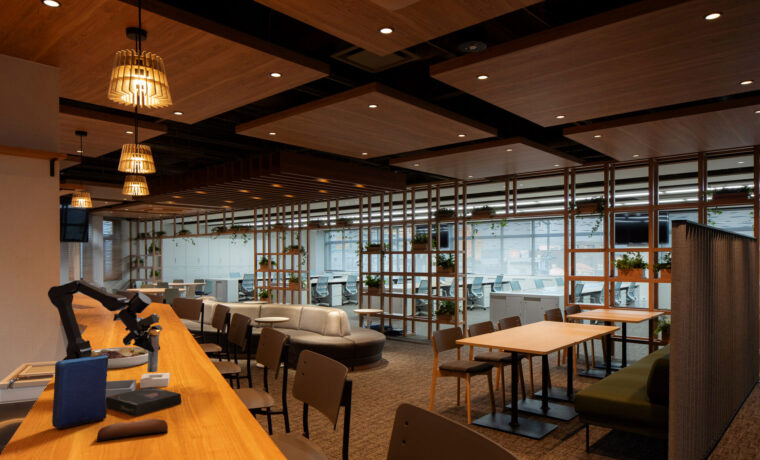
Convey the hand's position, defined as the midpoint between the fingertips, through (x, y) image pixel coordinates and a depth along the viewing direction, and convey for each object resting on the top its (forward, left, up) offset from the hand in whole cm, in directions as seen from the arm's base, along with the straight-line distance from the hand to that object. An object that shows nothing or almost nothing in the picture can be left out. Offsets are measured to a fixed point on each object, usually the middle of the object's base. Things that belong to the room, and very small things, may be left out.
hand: (156, 350), depth 195 cm
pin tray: (-13, -11, -13) cm, 22 cm away
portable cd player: (-1, -28, -14) cm, 31 cm away
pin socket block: (0, +2, -13) cm, 14 cm away
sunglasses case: (-1, -55, -14) cm, 57 cm away
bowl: (-20, +48, -14) cm, 54 cm away
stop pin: (-1, +1, -8) cm, 8 cm away
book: (-17, -43, -14) cm, 48 cm away
